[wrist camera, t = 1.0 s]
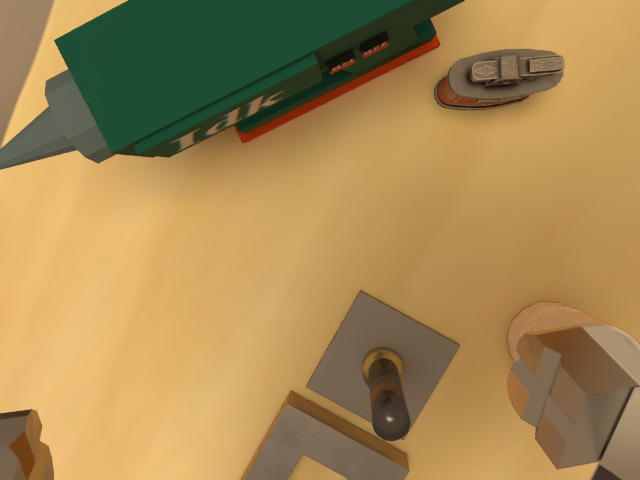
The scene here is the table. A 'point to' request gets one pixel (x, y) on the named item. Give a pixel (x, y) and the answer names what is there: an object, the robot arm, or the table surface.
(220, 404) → the table surface
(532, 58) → the lighter
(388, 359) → the dark grey peg
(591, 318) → the white cup
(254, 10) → the power tool
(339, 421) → the grey square frame
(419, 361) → the grey square plate
